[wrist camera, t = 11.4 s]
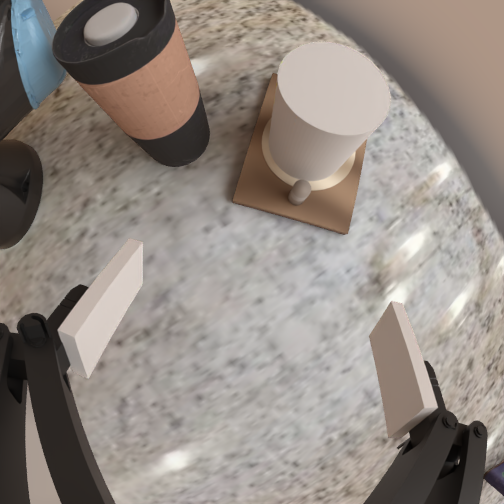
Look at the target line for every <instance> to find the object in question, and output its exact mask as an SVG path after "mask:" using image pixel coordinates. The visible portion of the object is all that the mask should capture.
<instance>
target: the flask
mask: <svg viewBox="0 0 504 504" xmlns="http://www.w3.org/2000/svg"><path fill="white" fill-rule="evenodd" d="M483 479H485V480H486V481H487V482H488V483H489V484H490V485H491V486H493V487H494V488H495V489H496V490H497V491H498V492H500V493H501V494H502V495H503V496H504V460H503V461H502V462H501V463H500V464H497V465H496V466H495V467H493V468H492V469H490V470H488V471H487V472H486V473H485V474H484V477H483Z"/></svg>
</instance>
